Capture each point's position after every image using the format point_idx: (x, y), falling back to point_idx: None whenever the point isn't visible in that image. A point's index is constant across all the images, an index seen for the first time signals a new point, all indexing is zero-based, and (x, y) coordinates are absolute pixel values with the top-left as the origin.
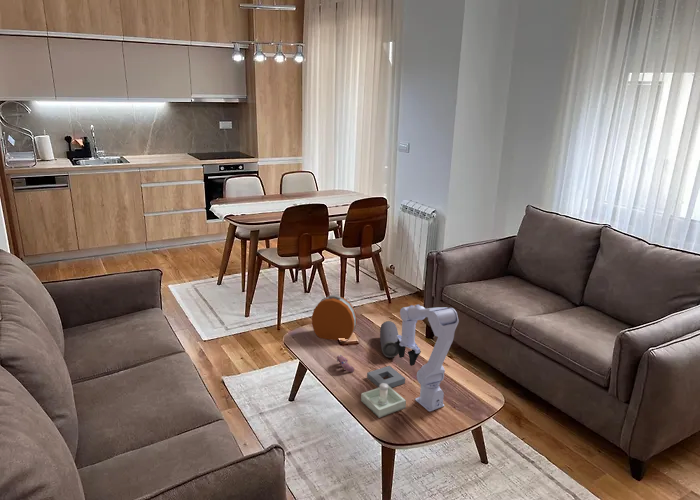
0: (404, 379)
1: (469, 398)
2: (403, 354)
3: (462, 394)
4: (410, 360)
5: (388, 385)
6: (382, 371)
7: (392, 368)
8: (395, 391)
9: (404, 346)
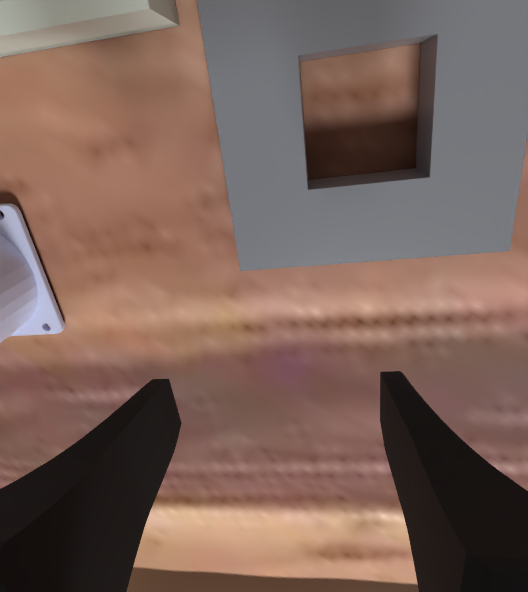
0: (240, 259)
1: (3, 469)
2: (387, 441)
3: (41, 464)
4: (101, 429)
5: (130, 12)
6: (457, 119)
7: (443, 251)
8: (1, 34)
9: (423, 585)
